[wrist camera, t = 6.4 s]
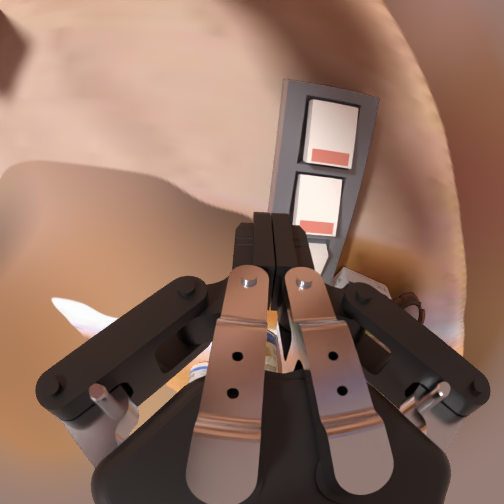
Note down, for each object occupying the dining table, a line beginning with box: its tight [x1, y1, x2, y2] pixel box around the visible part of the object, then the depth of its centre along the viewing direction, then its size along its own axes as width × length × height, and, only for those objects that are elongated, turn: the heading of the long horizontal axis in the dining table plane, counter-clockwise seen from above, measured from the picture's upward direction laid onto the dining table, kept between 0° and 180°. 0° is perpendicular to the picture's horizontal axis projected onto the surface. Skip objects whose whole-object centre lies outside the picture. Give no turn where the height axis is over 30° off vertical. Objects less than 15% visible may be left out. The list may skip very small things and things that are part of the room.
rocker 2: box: [309, 243, 328, 275], centre depth 34 cm, size 6×4×2 cm
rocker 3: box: [303, 99, 358, 169], centre depth 24 cm, size 6×4×2 cm
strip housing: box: [268, 79, 379, 285], centre depth 31 cm, size 25×9×4 cm, turn 175°
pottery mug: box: [393, 293, 425, 325], centre depth 45 cm, size 12×10×8 cm
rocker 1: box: [293, 174, 342, 236], centre depth 29 cm, size 6×4×2 cm
